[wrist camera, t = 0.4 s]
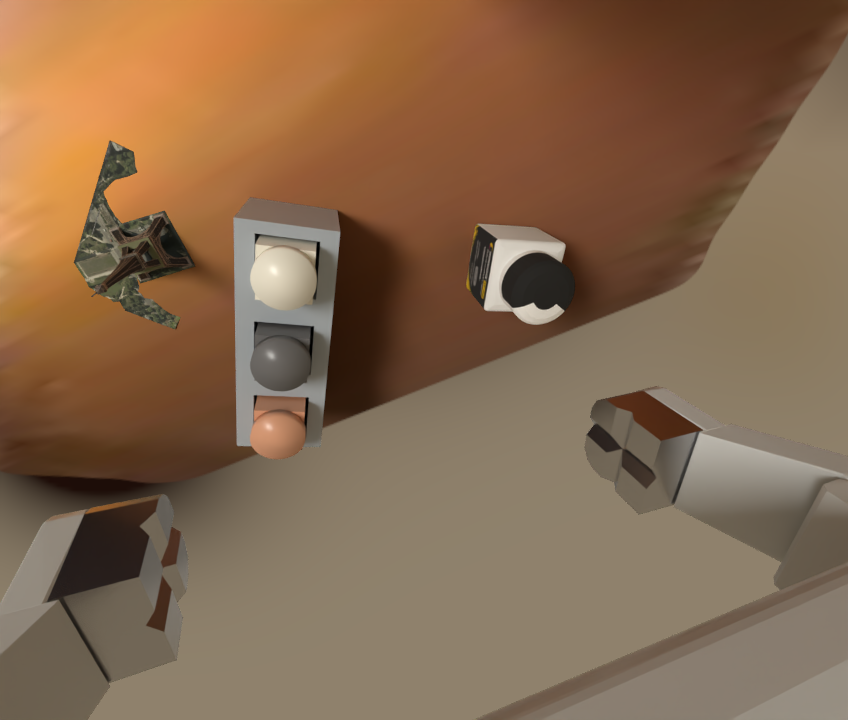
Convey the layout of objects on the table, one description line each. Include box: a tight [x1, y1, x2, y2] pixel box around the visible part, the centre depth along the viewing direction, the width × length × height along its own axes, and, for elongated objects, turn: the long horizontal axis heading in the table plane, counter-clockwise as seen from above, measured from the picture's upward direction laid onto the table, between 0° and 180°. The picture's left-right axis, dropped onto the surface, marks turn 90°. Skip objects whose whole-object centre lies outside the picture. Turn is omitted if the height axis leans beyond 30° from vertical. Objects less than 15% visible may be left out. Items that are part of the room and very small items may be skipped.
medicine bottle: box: [466, 224, 575, 325], centre depth 44 cm, size 7×7×12 cm
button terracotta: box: [250, 395, 306, 459], centre depth 44 cm, size 5×5×8 cm
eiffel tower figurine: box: [74, 141, 195, 329], centre depth 37 cm, size 15×10×13 cm
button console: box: [234, 197, 340, 447], centre depth 44 cm, size 22×8×9 cm, turn 170°
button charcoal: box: [250, 322, 311, 391], centre depth 40 cm, size 5×5×8 cm
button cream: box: [250, 234, 317, 311], centre depth 37 cm, size 5×5×8 cm
